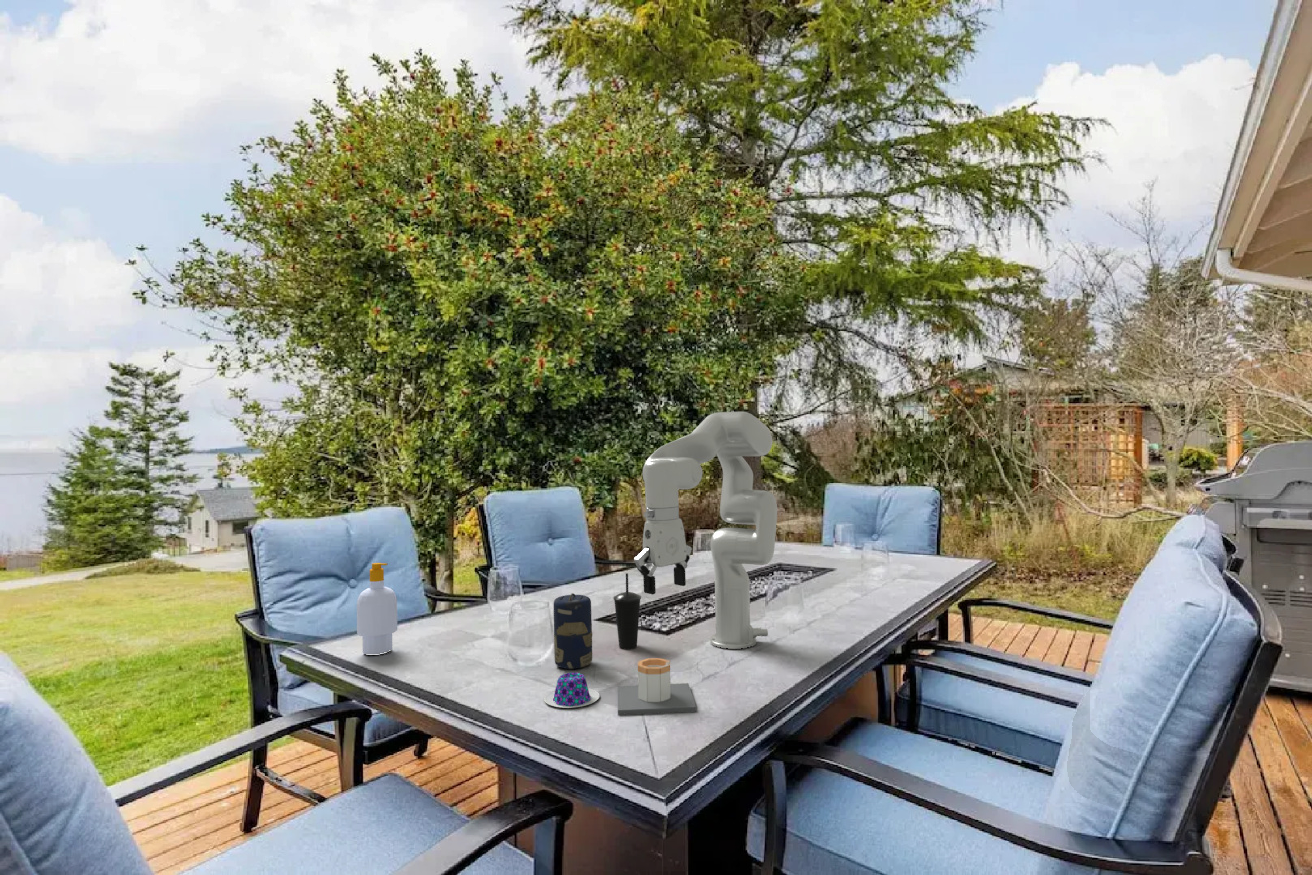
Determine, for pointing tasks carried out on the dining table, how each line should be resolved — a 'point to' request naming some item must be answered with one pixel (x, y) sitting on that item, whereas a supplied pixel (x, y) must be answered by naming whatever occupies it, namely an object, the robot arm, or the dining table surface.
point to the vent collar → (654, 679)
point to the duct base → (677, 703)
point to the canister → (572, 631)
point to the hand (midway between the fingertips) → (665, 589)
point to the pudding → (571, 692)
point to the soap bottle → (377, 613)
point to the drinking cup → (627, 617)
